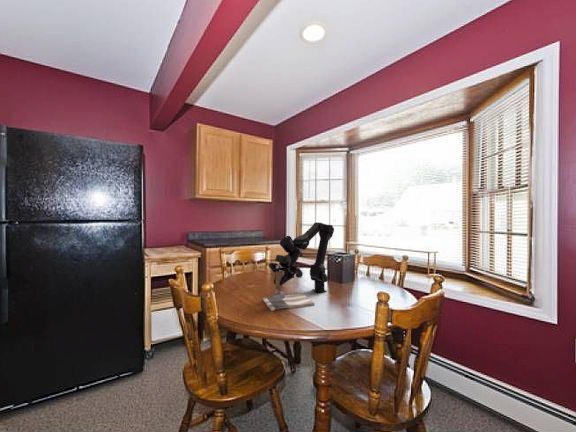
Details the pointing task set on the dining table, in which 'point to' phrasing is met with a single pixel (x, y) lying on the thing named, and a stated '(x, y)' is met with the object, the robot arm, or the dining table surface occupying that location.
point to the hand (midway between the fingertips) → (277, 284)
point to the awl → (278, 286)
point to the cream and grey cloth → (288, 302)
